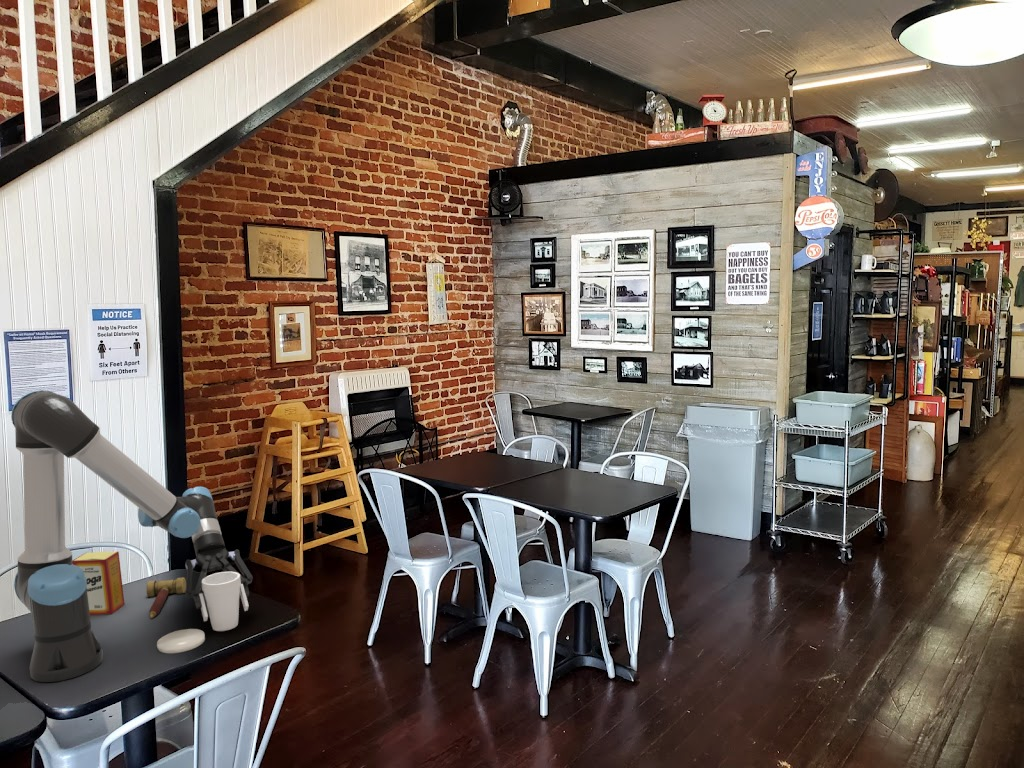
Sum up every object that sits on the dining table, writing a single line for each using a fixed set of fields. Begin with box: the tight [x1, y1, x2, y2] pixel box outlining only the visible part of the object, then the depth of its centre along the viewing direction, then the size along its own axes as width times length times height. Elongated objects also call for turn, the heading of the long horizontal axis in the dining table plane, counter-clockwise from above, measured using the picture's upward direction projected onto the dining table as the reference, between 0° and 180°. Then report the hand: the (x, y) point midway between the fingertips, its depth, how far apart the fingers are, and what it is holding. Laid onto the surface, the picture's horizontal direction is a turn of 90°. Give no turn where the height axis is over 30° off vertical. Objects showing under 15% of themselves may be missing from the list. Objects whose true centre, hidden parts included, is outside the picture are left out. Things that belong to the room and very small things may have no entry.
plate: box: [156, 628, 206, 654], centre depth 195 cm, size 11×11×1 cm
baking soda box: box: [72, 551, 126, 616], centre depth 218 cm, size 10×6×16 cm
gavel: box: [145, 576, 187, 619], centre depth 221 cm, size 21×5×10 cm
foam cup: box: [201, 571, 241, 632], centre depth 204 cm, size 10×9×13 cm
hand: (226, 613), depth 201 cm, fingers closed on foam cup, 9 cm apart
